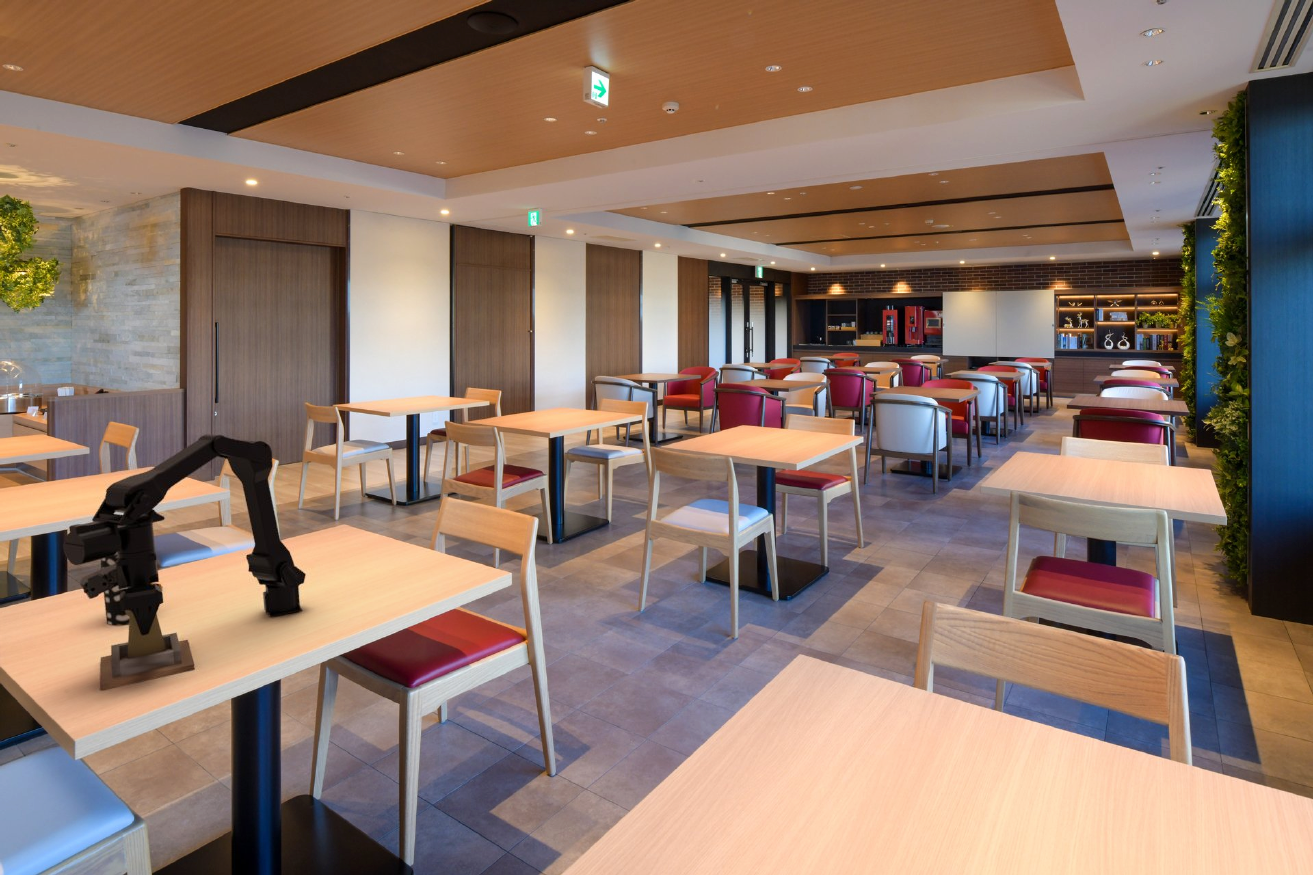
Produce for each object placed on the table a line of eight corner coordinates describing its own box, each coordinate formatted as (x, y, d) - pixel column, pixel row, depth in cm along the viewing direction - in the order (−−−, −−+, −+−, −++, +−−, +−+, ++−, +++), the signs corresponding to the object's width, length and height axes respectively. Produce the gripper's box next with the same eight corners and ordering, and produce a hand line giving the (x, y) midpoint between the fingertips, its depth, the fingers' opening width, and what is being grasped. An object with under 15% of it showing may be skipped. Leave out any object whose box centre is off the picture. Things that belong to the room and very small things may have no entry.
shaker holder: (188, 644, 148) (186, 627, 148) (194, 669, 137) (193, 651, 136) (101, 662, 140) (99, 644, 139) (100, 690, 129) (98, 671, 128)
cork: (146, 661, 135) (140, 603, 133) (118, 658, 136) (112, 601, 134) (174, 648, 140) (168, 592, 139) (147, 645, 142) (141, 590, 140)
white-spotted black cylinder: (161, 614, 164) (153, 527, 161) (121, 627, 156) (112, 536, 154) (138, 608, 167) (130, 523, 165) (98, 621, 160) (88, 531, 157)
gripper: (82, 545, 138) (91, 624, 140) (79, 570, 123) (89, 659, 125) (153, 535, 145) (161, 611, 147) (159, 558, 130) (167, 642, 132)
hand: (144, 630), depth 138 cm, fingers closed on cork, 4 cm apart
